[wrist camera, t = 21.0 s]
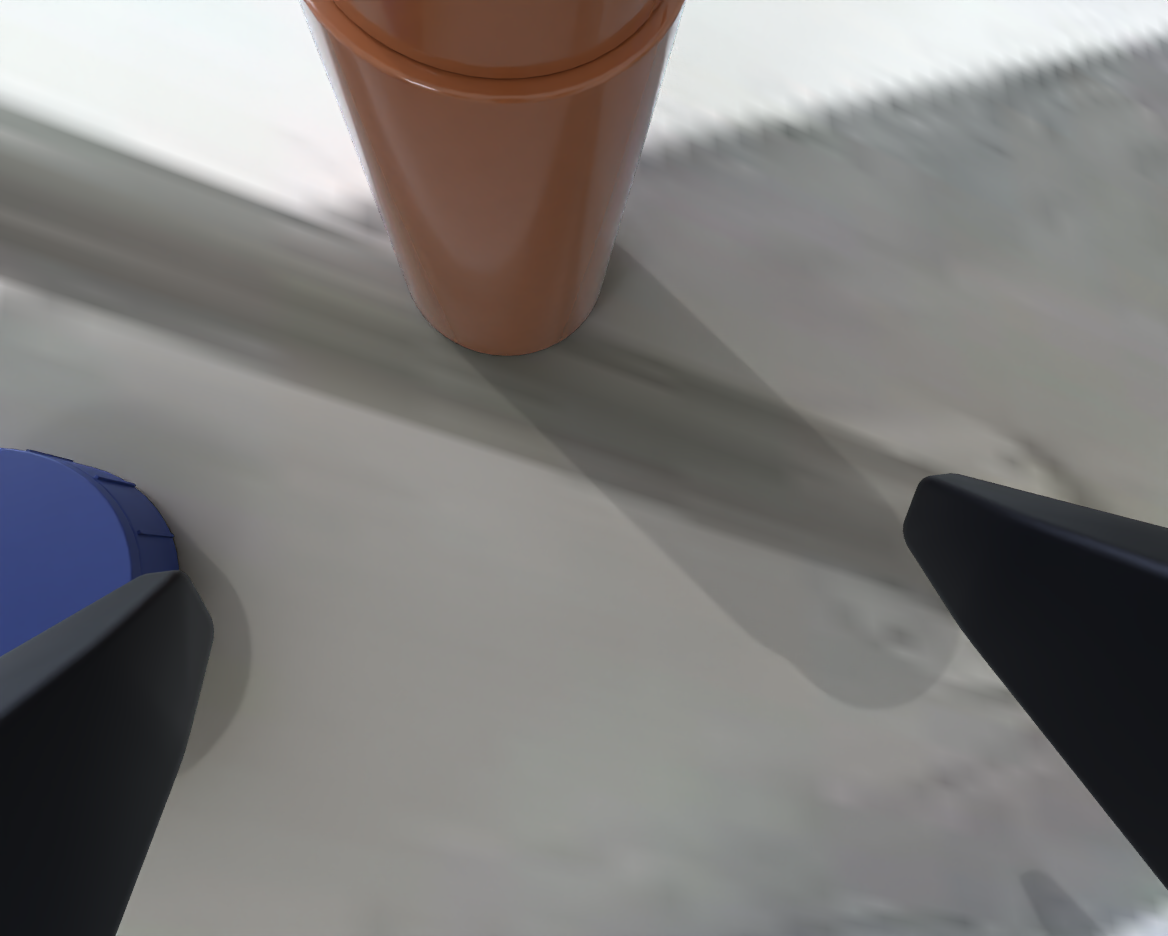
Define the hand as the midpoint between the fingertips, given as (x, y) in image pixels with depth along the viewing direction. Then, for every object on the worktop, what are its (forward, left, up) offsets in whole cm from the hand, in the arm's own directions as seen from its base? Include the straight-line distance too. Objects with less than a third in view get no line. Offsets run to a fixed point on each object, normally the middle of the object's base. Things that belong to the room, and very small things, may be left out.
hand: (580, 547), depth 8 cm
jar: (+5, -9, -11) cm, 15 cm away
